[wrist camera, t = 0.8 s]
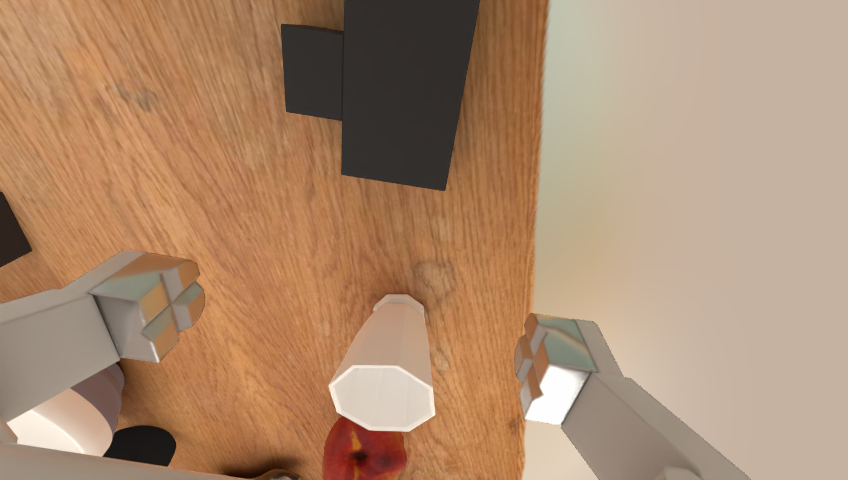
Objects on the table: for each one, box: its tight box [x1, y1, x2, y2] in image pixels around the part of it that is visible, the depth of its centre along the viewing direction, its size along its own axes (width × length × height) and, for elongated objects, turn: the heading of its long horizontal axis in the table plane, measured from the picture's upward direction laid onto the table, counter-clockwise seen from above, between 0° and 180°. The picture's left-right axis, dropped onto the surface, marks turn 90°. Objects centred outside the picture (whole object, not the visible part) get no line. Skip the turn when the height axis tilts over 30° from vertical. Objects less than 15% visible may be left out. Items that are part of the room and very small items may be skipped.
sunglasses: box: [102, 426, 176, 467], centre depth 43 cm, size 17×15×5 cm
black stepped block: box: [281, 0, 480, 191], centre depth 19 cm, size 10×9×3 cm
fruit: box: [322, 416, 407, 480], centre depth 33 cm, size 8×8×8 cm
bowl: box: [7, 363, 125, 457], centre depth 32 cm, size 14×14×8 cm
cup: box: [328, 294, 435, 432], centre depth 26 cm, size 7×10×8 cm
